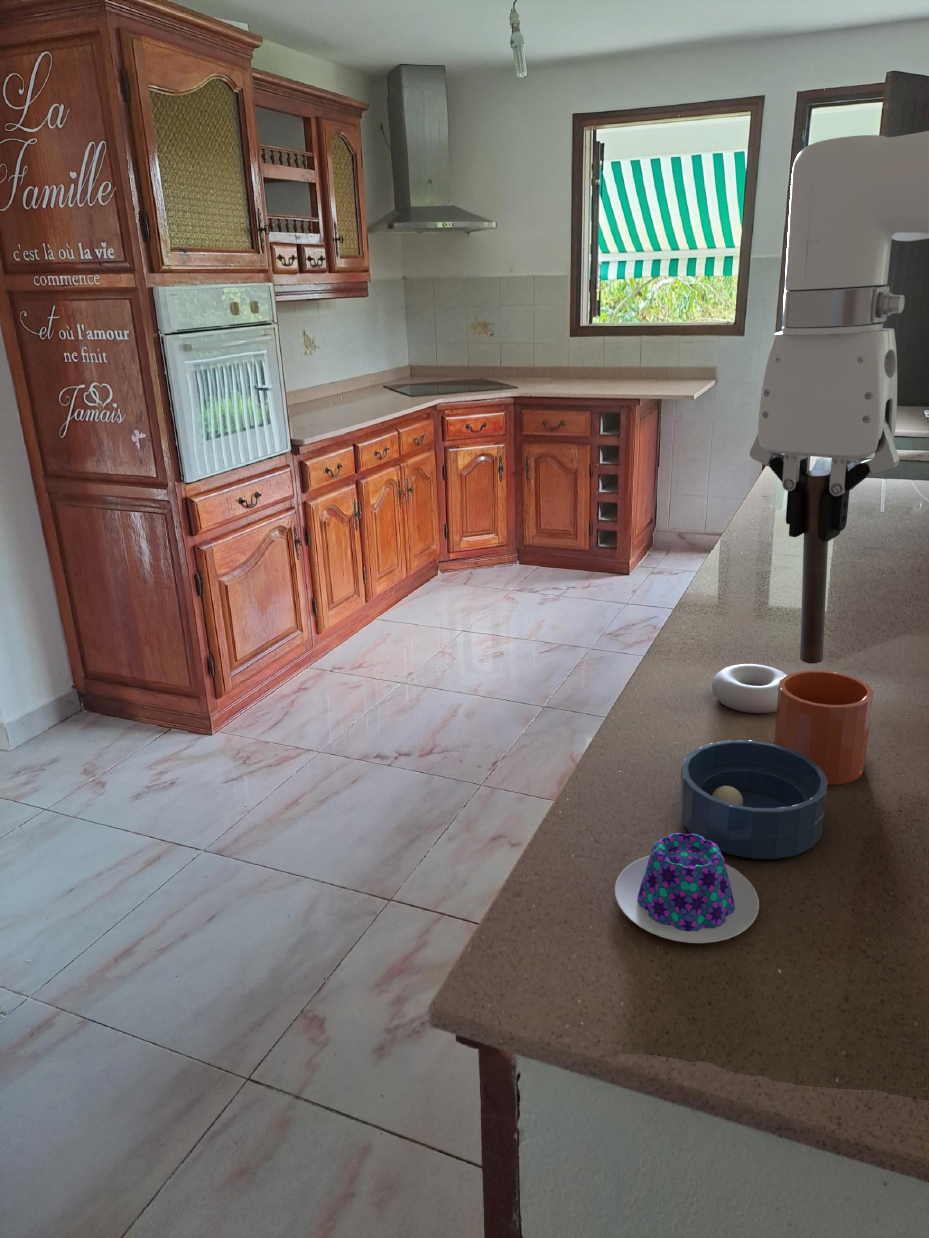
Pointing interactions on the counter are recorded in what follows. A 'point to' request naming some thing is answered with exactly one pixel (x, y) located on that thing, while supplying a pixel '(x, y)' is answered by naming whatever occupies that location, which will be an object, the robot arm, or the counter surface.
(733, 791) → the dough ball
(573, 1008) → the counter surface
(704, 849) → the pudding
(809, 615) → the stick
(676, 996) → the counter surface
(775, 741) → the crock
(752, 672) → the donut
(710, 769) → the bowl
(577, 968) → the counter surface
